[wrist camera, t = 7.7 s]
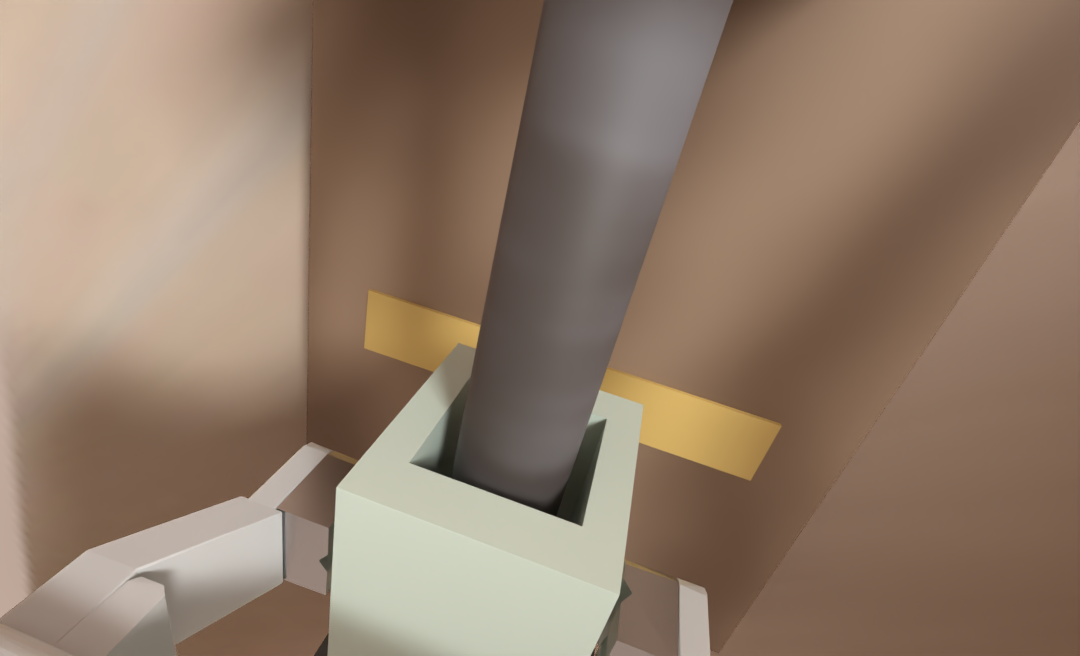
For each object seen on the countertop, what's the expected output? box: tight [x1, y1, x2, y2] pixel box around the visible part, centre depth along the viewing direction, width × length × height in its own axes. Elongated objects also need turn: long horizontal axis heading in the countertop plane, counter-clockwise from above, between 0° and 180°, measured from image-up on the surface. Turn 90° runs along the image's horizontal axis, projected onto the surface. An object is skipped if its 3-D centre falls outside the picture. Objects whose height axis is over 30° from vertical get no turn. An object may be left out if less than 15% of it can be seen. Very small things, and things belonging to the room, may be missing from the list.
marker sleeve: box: [327, 343, 644, 656], centre depth 10 cm, size 4×5×4 cm
